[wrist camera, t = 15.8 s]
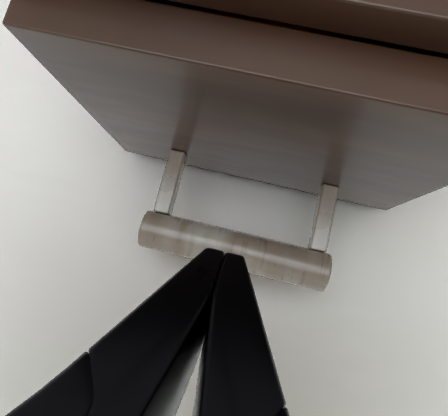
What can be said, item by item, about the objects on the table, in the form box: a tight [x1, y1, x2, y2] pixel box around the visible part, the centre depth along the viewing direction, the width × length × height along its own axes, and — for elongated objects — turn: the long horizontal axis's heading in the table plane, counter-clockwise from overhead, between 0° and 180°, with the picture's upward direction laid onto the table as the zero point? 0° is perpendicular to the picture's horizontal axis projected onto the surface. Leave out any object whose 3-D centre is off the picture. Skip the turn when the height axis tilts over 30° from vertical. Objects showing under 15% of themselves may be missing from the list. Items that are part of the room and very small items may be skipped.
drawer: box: [3, 0, 448, 291], centre depth 12 cm, size 18×12×8 cm, turn 166°
